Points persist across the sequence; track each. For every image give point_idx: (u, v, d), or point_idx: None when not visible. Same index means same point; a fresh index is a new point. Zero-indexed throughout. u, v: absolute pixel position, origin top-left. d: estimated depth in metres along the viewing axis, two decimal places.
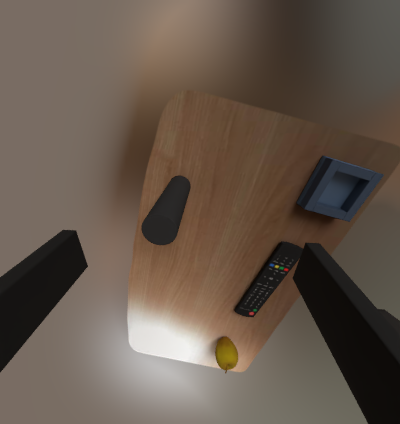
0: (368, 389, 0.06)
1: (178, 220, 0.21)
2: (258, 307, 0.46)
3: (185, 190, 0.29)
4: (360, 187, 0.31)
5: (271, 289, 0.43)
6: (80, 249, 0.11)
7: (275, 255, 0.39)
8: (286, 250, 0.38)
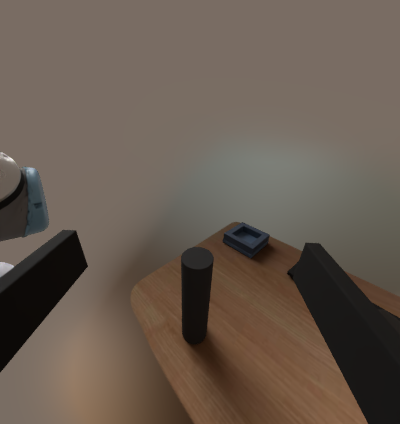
0: (368, 389, 0.06)
1: None
2: None
3: None
4: (247, 230, 0.54)
5: None
6: (80, 249, 0.11)
7: None
8: None
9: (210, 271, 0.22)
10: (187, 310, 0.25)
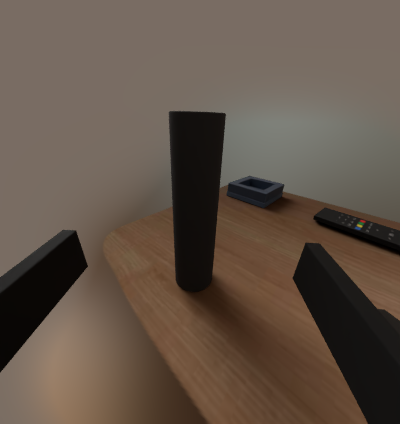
0: (368, 389, 0.06)
1: None
2: None
3: None
4: (256, 182, 0.44)
5: None
6: (80, 249, 0.11)
7: (336, 222, 0.29)
8: (325, 215, 0.31)
9: (221, 132, 0.12)
10: (182, 222, 0.15)
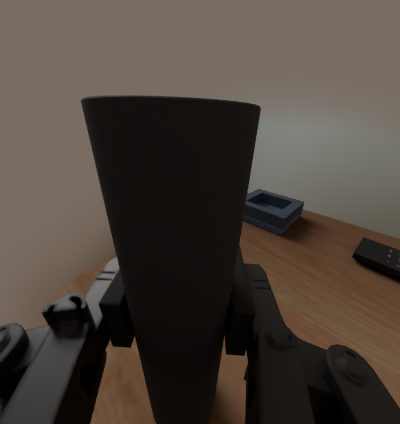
0: None
1: None
2: None
3: None
4: (268, 198, 0.36)
5: None
6: None
7: (389, 266, 0.21)
8: (369, 252, 0.23)
9: (246, 166, 0.04)
10: (148, 357, 0.07)
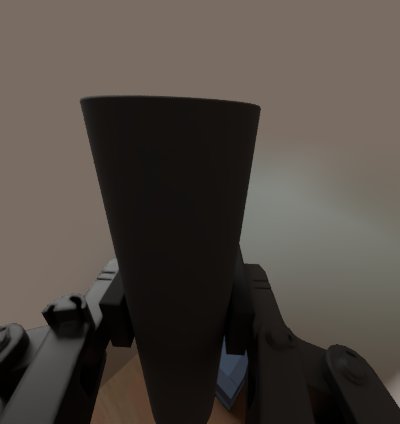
0: None
1: None
2: None
3: None
4: None
5: None
6: None
7: None
8: None
9: (246, 166, 0.04)
10: (148, 358, 0.07)
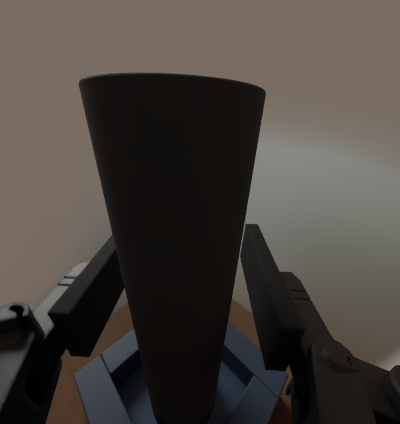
0: (263, 328, 0.08)
1: None
2: None
3: None
4: None
5: None
6: None
7: None
8: None
9: (251, 154, 0.04)
10: (148, 354, 0.06)
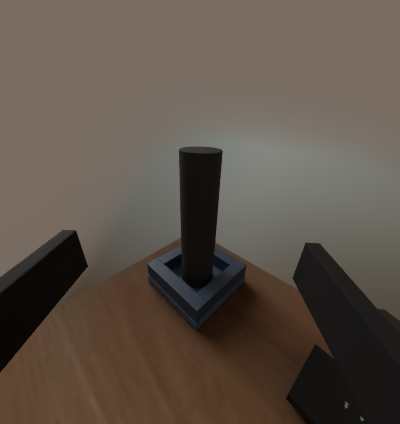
0: (368, 389, 0.06)
1: None
2: None
3: None
4: None
5: None
6: (80, 249, 0.11)
7: None
8: (314, 392, 0.14)
9: (218, 165, 0.16)
10: (188, 232, 0.19)
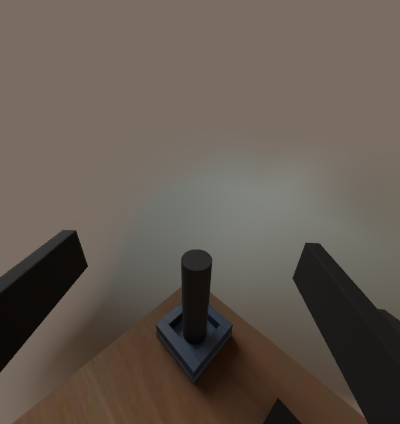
0: (368, 389, 0.06)
1: None
2: None
3: None
4: None
5: None
6: (80, 249, 0.11)
7: None
8: None
9: (209, 272, 0.23)
10: (187, 311, 0.26)
